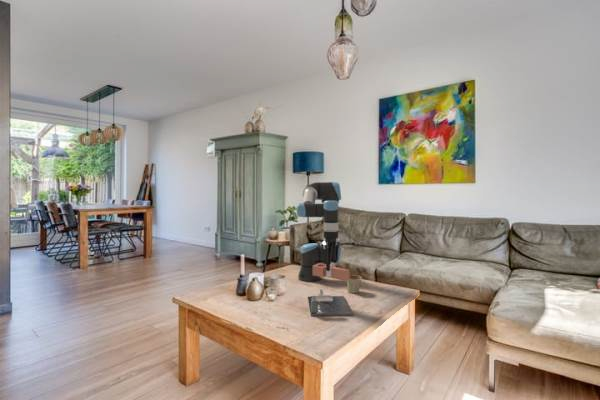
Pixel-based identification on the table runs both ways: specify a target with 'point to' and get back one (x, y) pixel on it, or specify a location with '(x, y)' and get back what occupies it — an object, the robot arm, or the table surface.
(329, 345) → the table surface
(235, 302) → the table surface
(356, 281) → the flower pot
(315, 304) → the pintle base
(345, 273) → the link
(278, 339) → the table surface
